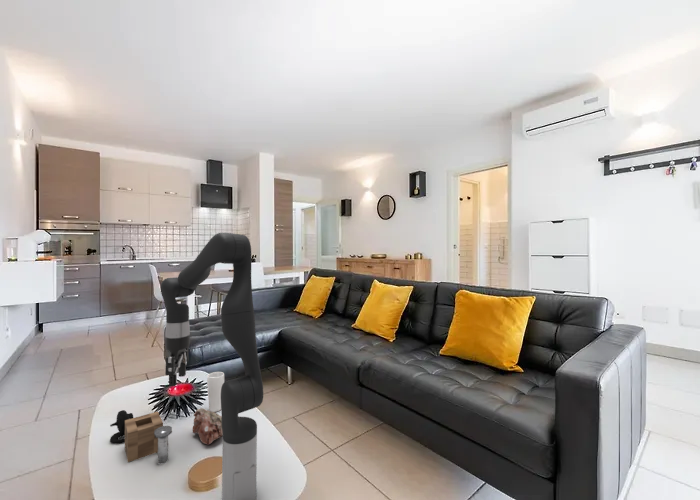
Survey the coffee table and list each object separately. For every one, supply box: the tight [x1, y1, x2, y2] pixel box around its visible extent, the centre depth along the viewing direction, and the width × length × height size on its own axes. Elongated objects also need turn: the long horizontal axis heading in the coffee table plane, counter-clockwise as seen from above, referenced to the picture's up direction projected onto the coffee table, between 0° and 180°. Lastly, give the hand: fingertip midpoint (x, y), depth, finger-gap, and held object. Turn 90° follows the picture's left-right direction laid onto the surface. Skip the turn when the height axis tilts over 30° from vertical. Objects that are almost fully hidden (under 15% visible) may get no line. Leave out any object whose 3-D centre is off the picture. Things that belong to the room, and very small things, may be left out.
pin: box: [154, 425, 173, 465], centre depth 107 cm, size 5×5×10 cm
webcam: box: [109, 410, 134, 445], centre depth 119 cm, size 8×8×10 cm
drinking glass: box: [206, 371, 225, 413], centre depth 141 cm, size 7×7×15 cm
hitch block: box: [124, 411, 164, 463], centre depth 113 cm, size 10×10×10 cm
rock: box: [192, 407, 223, 446], centre depth 122 cm, size 16×11×15 cm
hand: (177, 380), depth 114 cm, fingers open, 8 cm apart
